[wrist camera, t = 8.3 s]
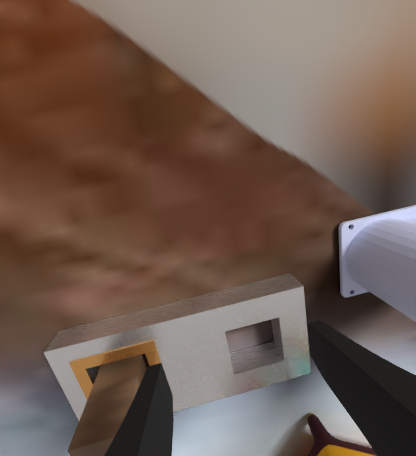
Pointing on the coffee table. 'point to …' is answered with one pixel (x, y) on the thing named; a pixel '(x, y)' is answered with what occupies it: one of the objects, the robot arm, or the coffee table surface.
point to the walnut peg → (107, 405)
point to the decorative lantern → (332, 442)
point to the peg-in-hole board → (193, 343)
